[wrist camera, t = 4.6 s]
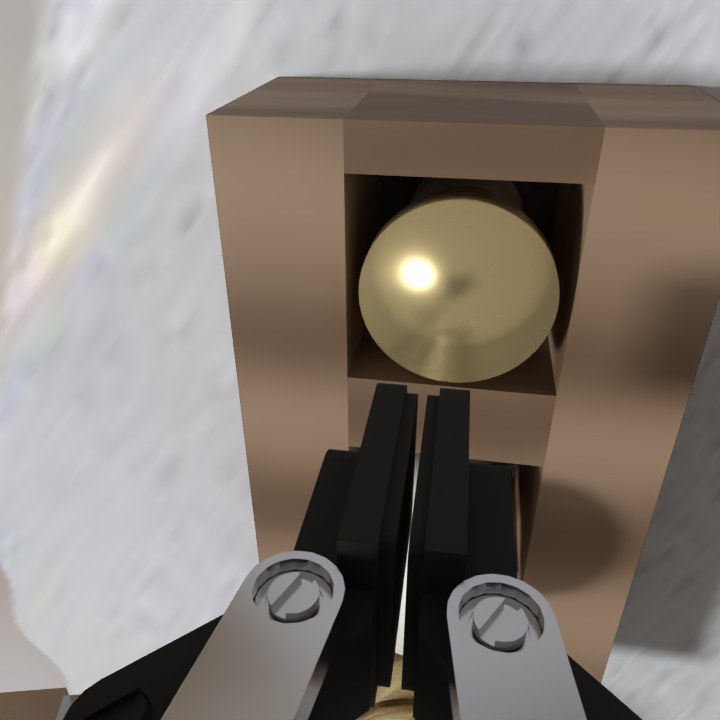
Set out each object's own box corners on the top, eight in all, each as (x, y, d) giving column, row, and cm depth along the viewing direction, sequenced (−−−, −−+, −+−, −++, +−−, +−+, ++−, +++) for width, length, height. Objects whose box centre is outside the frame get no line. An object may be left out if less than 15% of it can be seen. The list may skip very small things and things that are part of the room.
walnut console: (561, 635, 31) (574, 768, 26) (311, 600, 32) (277, 717, 27) (693, 85, 18) (770, 132, 13) (278, 76, 20) (205, 115, 15)
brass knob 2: (532, 291, 22) (544, 390, 17) (389, 281, 23) (358, 374, 17) (553, 143, 19) (575, 207, 14) (392, 137, 20) (357, 196, 15)
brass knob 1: (485, 659, 28) (484, 814, 23) (374, 643, 29) (348, 789, 24) (497, 583, 25) (498, 736, 20) (375, 566, 26) (346, 711, 21)
